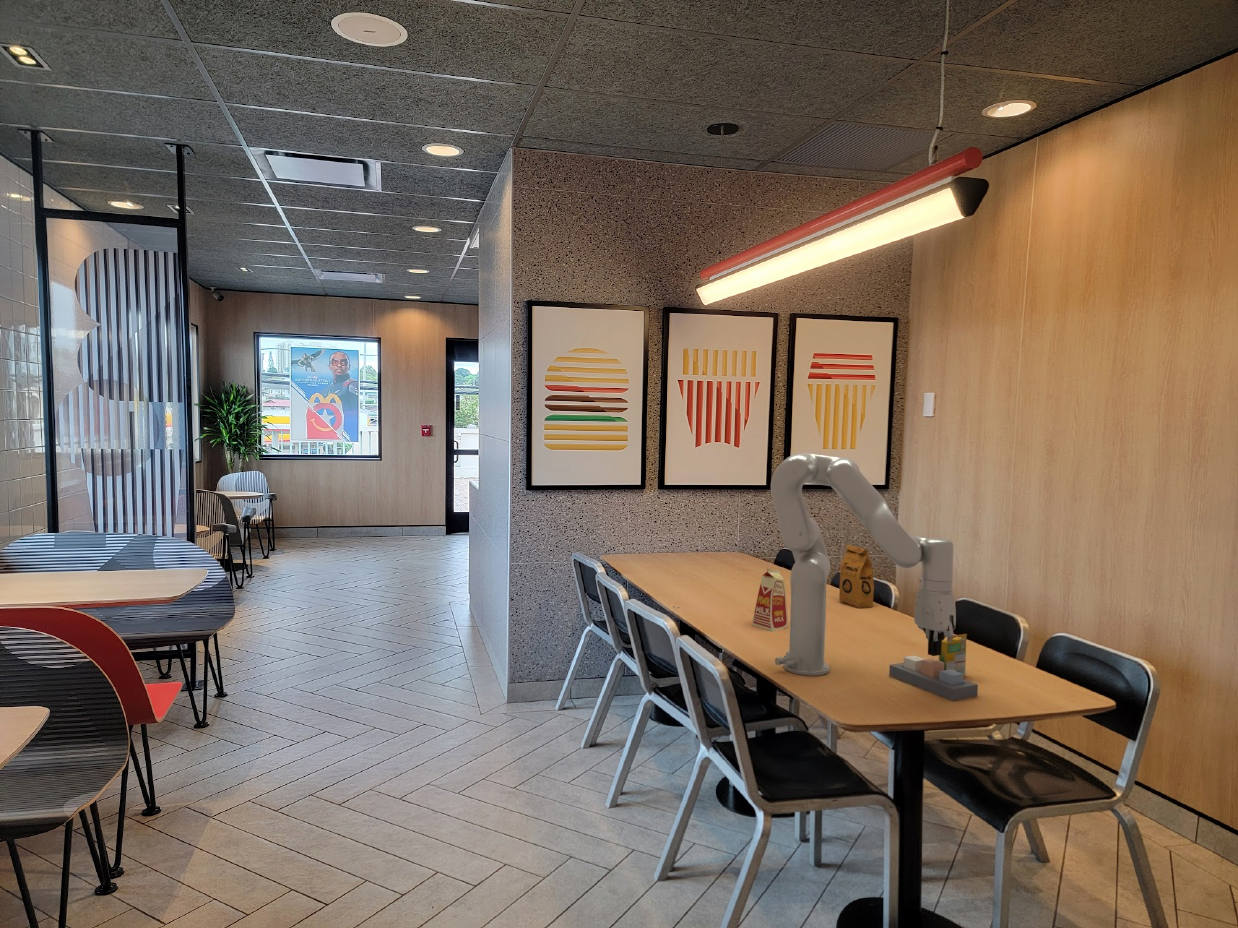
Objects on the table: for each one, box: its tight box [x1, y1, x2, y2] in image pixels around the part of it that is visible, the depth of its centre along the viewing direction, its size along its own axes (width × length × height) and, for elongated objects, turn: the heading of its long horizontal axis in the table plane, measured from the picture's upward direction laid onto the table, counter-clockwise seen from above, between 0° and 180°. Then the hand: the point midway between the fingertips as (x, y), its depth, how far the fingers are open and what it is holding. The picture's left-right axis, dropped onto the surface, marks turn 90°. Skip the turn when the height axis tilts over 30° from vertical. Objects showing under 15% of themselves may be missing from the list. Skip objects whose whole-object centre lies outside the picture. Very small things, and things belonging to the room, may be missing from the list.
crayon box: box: [938, 633, 968, 677], centre depth 217 cm, size 7×3×12 cm, turn 113°
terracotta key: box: [921, 657, 944, 678], centre depth 208 cm, size 4×4×4 cm
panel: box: [888, 662, 979, 702], centre depth 208 cm, size 9×21×3 cm, turn 26°
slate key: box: [939, 669, 964, 686], centre depth 203 cm, size 4×4×4 cm
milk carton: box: [751, 567, 789, 632], centre depth 265 cm, size 9×9×20 cm
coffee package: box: [838, 544, 875, 609], centre depth 299 cm, size 10×12×22 cm
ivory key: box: [903, 654, 926, 672], centre depth 214 cm, size 4×4×4 cm
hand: (934, 654), depth 208 cm, fingers closed
